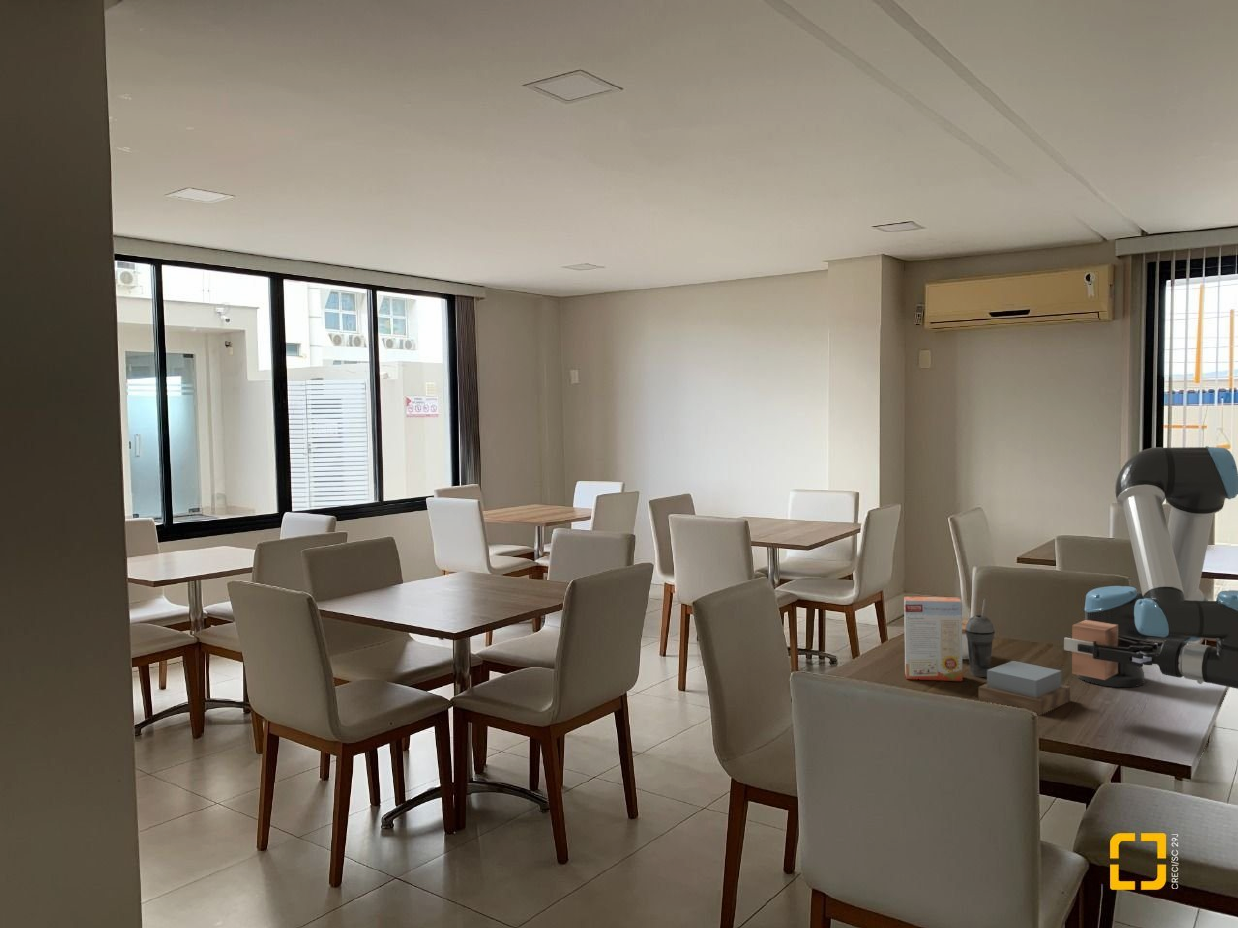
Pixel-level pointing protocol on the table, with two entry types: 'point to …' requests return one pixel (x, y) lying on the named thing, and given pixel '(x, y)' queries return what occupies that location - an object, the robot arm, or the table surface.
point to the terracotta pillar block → (1102, 636)
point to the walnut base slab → (1025, 698)
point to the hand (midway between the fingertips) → (1072, 640)
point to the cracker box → (933, 638)
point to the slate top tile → (1024, 679)
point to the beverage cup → (979, 643)
